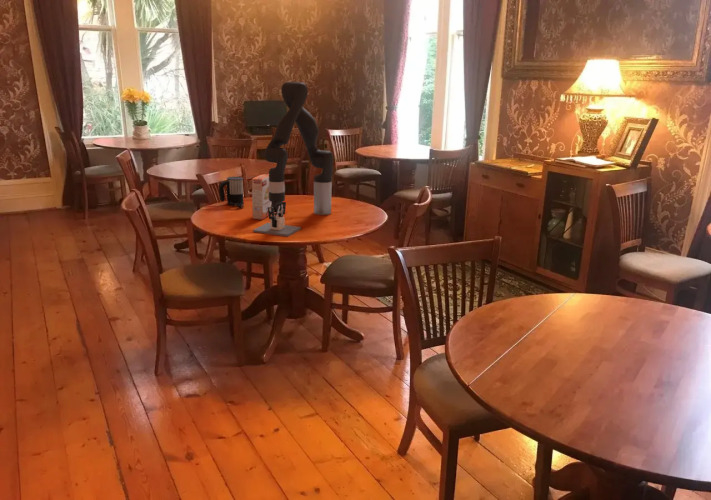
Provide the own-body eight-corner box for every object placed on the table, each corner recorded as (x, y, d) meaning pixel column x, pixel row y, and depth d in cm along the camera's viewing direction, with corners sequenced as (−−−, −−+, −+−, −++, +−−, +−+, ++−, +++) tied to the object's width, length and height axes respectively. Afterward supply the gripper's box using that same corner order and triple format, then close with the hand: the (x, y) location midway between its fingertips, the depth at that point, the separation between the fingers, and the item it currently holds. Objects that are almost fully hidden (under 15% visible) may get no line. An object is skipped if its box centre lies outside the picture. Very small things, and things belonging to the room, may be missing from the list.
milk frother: (236, 201, 322) (235, 175, 318) (255, 205, 313) (255, 179, 309) (217, 205, 311) (215, 179, 307) (236, 210, 302) (235, 183, 298)
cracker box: (263, 220, 285) (262, 179, 278) (252, 219, 286) (250, 178, 279) (272, 213, 298) (272, 174, 291) (261, 212, 299) (261, 173, 292)
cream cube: (275, 226, 270) (275, 216, 269) (284, 227, 269) (284, 217, 267) (270, 228, 266) (270, 218, 264) (279, 230, 264) (279, 219, 263)
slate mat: (267, 224, 277) (267, 222, 276) (300, 229, 271) (300, 227, 271) (253, 231, 264) (253, 229, 264) (287, 236, 258) (287, 234, 258)
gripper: (276, 186, 269) (277, 221, 275) (262, 192, 256) (262, 228, 262) (291, 188, 267) (291, 223, 272) (276, 194, 254) (277, 230, 259)
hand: (277, 225), depth 267 cm, fingers open, 5 cm apart
